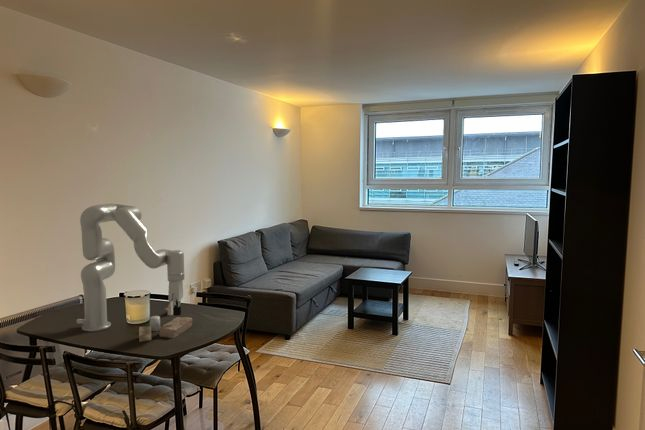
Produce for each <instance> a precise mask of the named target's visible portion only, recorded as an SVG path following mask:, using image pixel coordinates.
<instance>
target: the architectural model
mask: <svg viewBox="0 0 645 430" xmlns="http://www.w3.org/2000/svg"><path fill="white" fill-rule="evenodd" d="M165 310H167V316H174V315H173V300H172V301H171V302H169V304H168V306H166V308H164V311H165Z"/></svg>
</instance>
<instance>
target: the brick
mask: <svg viewBox="0 0 645 430" xmlns="http://www.w3.org/2000/svg"><path fill="white" fill-rule="evenodd" d="M192 326H193V318H192V317H188V316H187V317H185V316H177V317H174V318H173V319H172V320H171V321H169V322H167V323H165V324H163V325H162V326H160V330H158V332H159V333H158V334H159V335H158V336H159V337H161V338H169V339H170V338H171V339H175V338H176V337H178V336H180V335H181V334H182V333H184V332H186V331H187V330H188V329H190V328H191V327H192Z"/></svg>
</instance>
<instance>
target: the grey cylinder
mask: <svg viewBox="0 0 645 430" xmlns="http://www.w3.org/2000/svg"><path fill="white" fill-rule="evenodd" d="M149 326H151V332H157V331H158V332H159V330H160V327H161V316H159V315H153V316H150V317H149Z"/></svg>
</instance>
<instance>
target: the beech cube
mask: <svg viewBox="0 0 645 430" xmlns="http://www.w3.org/2000/svg"><path fill="white" fill-rule="evenodd" d="M138 328H139V329H138V339H139V340H138V342H147V341H148V342H149V341H152V331H151V326H150V325H149V326H148V325H147V326H139V327H138Z"/></svg>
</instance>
